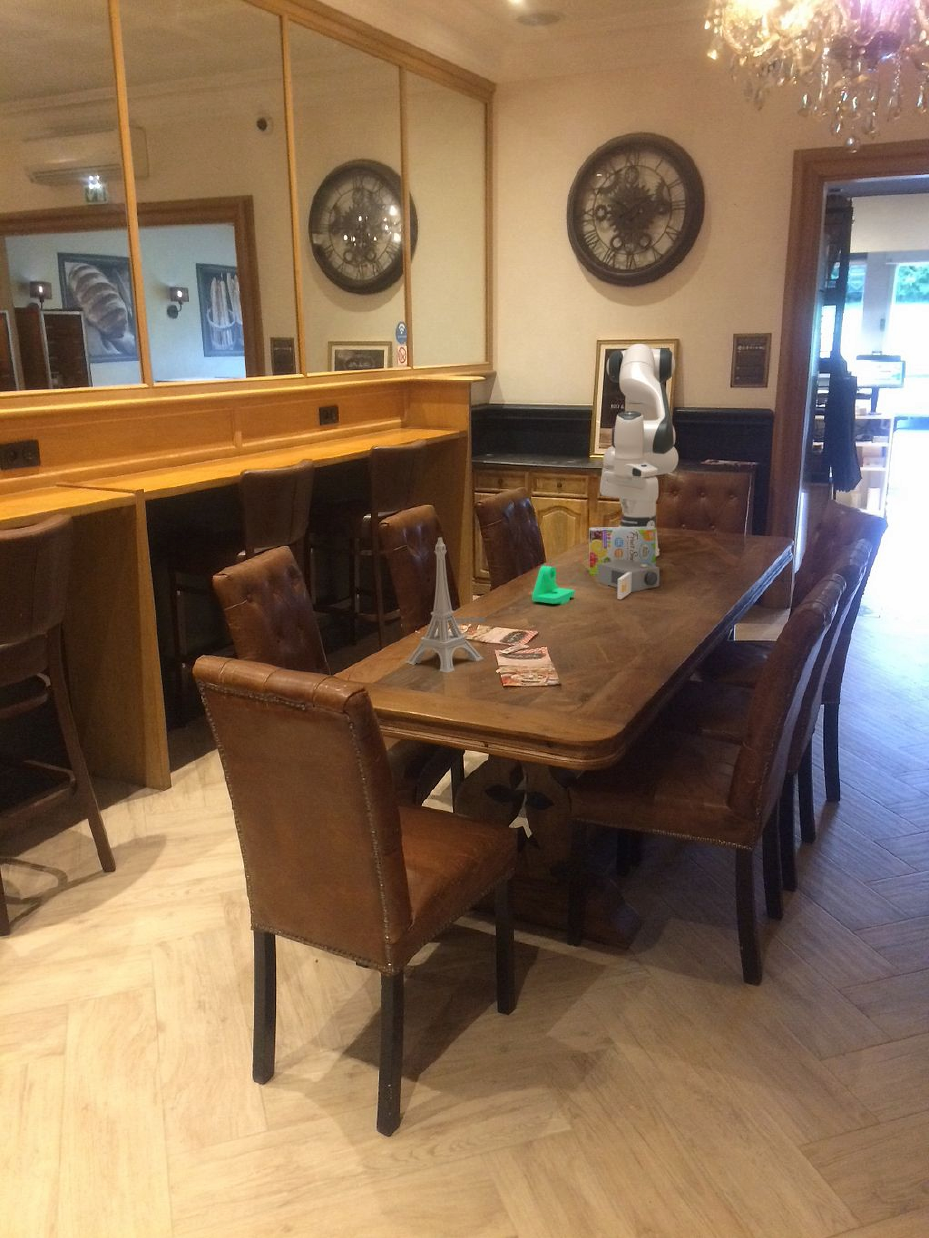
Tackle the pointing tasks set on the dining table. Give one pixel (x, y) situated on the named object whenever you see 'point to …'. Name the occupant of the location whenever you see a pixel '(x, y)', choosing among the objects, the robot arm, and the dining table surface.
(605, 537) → the snack box
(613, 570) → the camera case
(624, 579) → the side door
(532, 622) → the dining table surface
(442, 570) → the eiffel tower
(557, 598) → the camera mount
